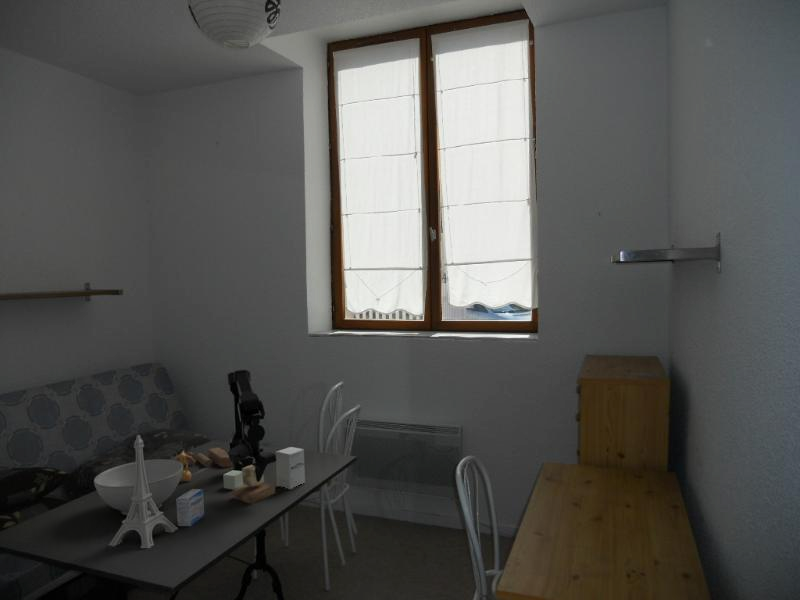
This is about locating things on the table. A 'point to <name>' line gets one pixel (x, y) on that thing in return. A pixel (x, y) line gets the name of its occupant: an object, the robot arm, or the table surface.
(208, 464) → the wooden block set
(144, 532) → the eiffel tower
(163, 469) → the decorative bowl
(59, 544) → the table surface
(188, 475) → the figurine
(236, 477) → the sage cube
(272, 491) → the walnut block
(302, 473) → the supplement box
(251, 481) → the oak block
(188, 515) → the medicine box
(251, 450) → the robot arm
